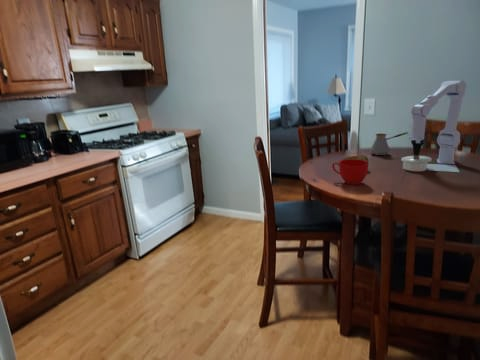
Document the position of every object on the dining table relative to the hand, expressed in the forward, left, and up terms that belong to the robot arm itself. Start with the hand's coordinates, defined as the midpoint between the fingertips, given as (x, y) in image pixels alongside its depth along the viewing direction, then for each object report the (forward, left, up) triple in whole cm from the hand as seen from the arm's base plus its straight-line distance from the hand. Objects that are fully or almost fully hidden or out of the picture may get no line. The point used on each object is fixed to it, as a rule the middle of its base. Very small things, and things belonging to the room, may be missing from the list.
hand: (415, 154), depth 176 cm
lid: (0, 0, -3) cm, 3 cm away
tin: (+11, -29, -8) cm, 32 cm away
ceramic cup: (+33, -29, -8) cm, 45 cm away
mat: (-5, +13, -8) cm, 16 cm away
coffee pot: (-31, -14, -8) cm, 35 cm away
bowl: (0, 0, -8) cm, 8 cm away
